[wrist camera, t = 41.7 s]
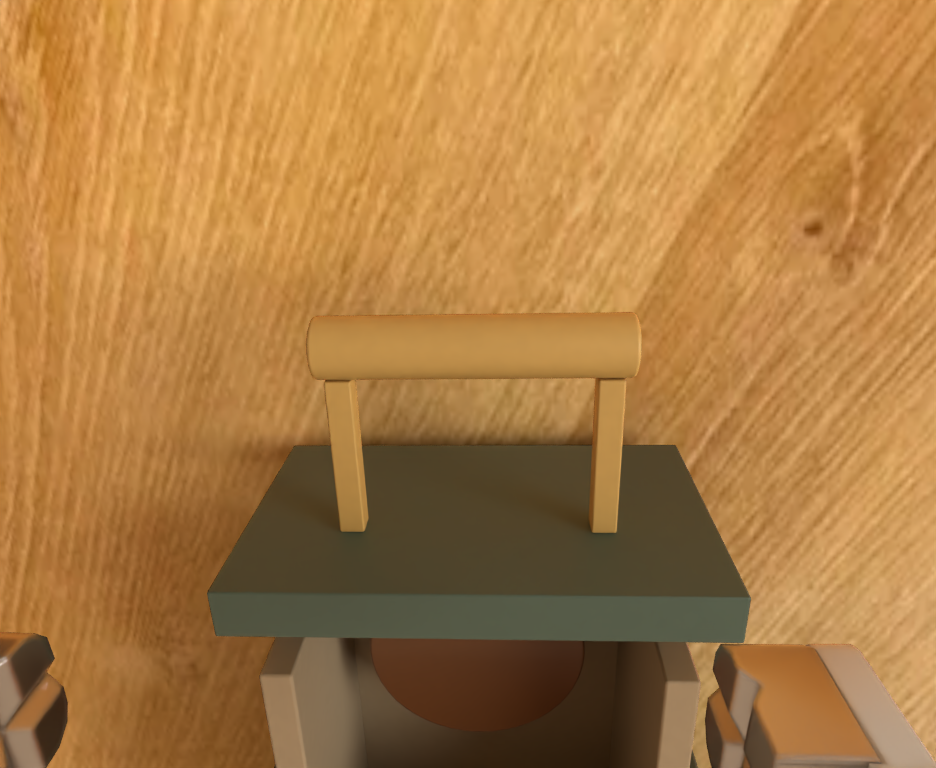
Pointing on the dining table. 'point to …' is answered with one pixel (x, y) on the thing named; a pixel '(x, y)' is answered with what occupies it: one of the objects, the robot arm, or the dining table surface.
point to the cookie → (478, 678)
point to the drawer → (480, 558)
